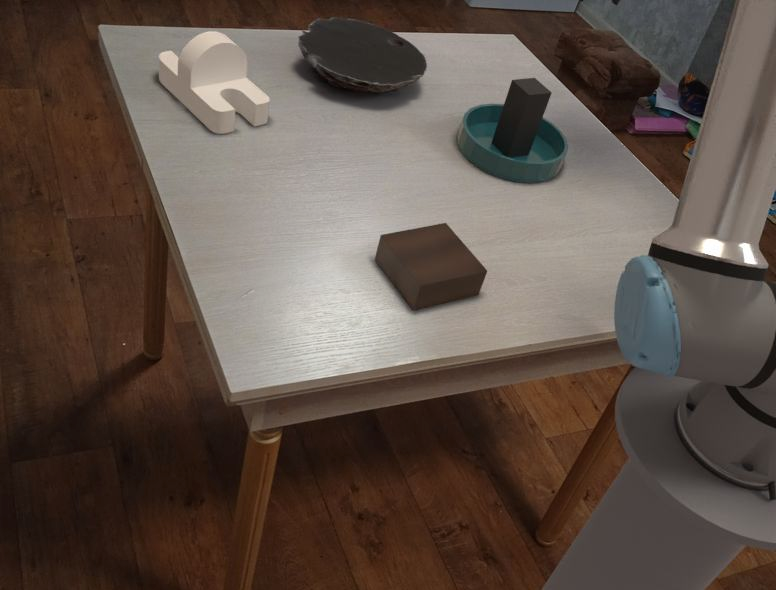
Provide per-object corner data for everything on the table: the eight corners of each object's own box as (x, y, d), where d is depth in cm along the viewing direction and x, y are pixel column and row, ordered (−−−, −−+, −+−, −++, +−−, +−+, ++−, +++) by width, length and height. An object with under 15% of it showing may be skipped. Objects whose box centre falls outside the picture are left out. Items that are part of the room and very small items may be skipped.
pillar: (529, 155, 132) (552, 92, 125) (506, 158, 130) (529, 94, 123) (513, 139, 135) (534, 77, 127) (491, 142, 133) (511, 79, 125)
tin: (581, 175, 132) (589, 156, 130) (496, 189, 124) (503, 169, 122) (520, 118, 142) (526, 99, 139) (437, 128, 133) (442, 108, 131)
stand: (478, 294, 106) (487, 270, 103) (413, 310, 101) (420, 285, 98) (438, 246, 111) (445, 222, 108) (374, 259, 106) (380, 234, 104)
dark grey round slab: (401, 48, 151) (407, 21, 147) (437, 112, 137) (445, 84, 133) (282, 40, 144) (286, 12, 140) (308, 107, 130) (312, 77, 126)
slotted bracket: (153, 75, 127) (153, 13, 120) (207, 65, 133) (210, 5, 126) (215, 135, 119) (219, 72, 112) (271, 122, 124) (278, 61, 118)
